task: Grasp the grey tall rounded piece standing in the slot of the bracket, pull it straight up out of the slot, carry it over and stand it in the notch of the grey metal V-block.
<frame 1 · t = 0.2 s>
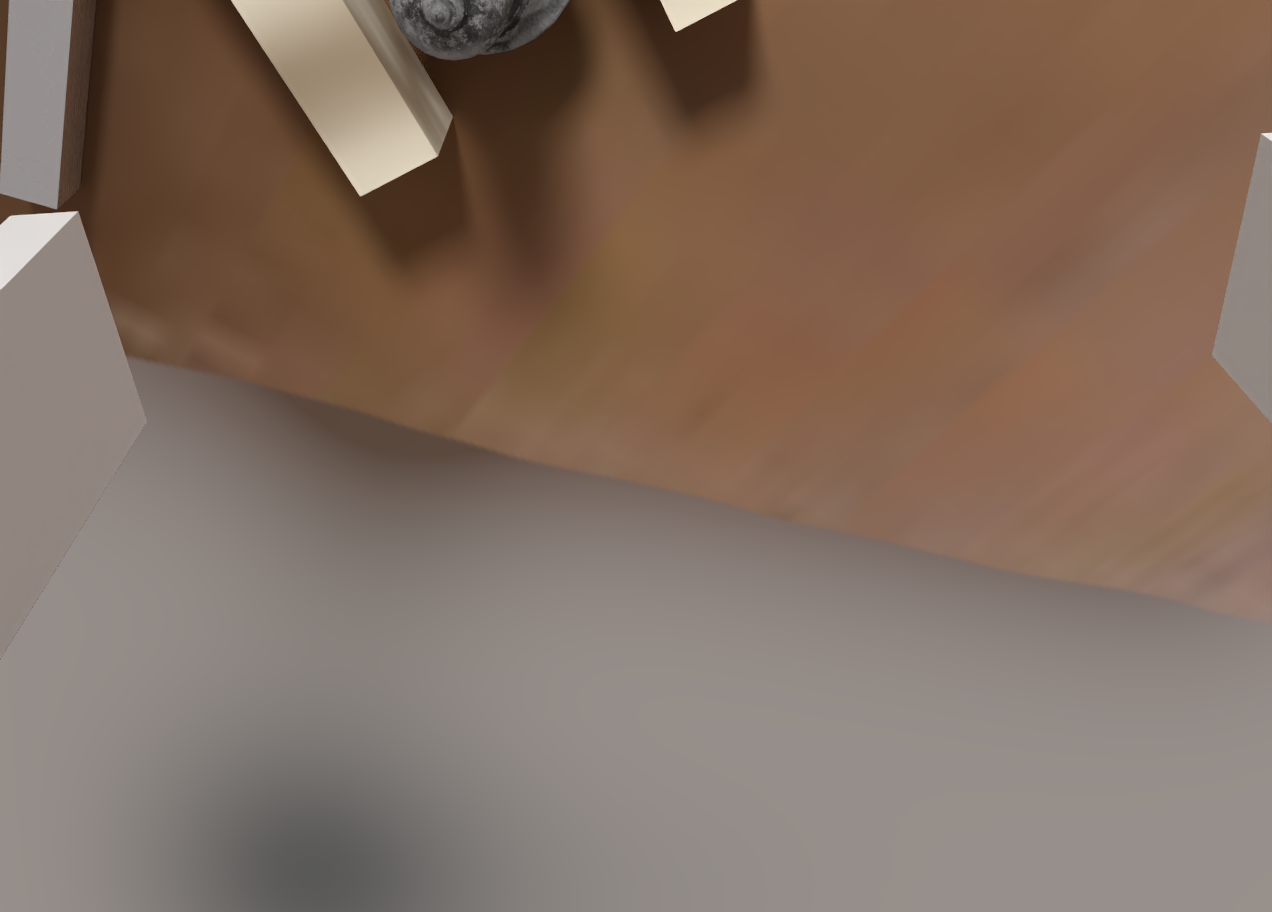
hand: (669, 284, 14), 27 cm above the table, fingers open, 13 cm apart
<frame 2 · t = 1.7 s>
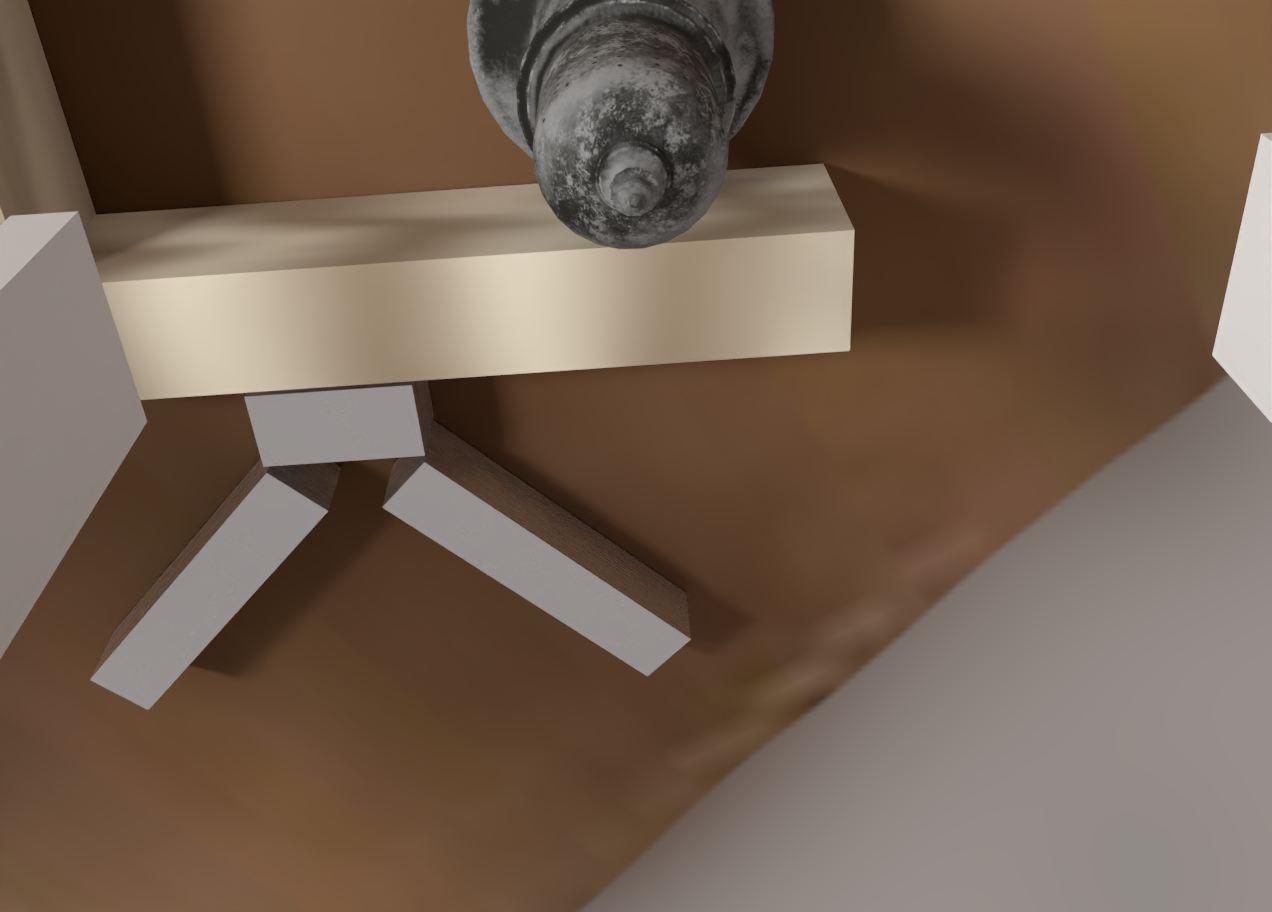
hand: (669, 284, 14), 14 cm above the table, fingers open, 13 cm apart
bracket: (363, 16, 26), on the table
v block: (360, 435, 32), on the table
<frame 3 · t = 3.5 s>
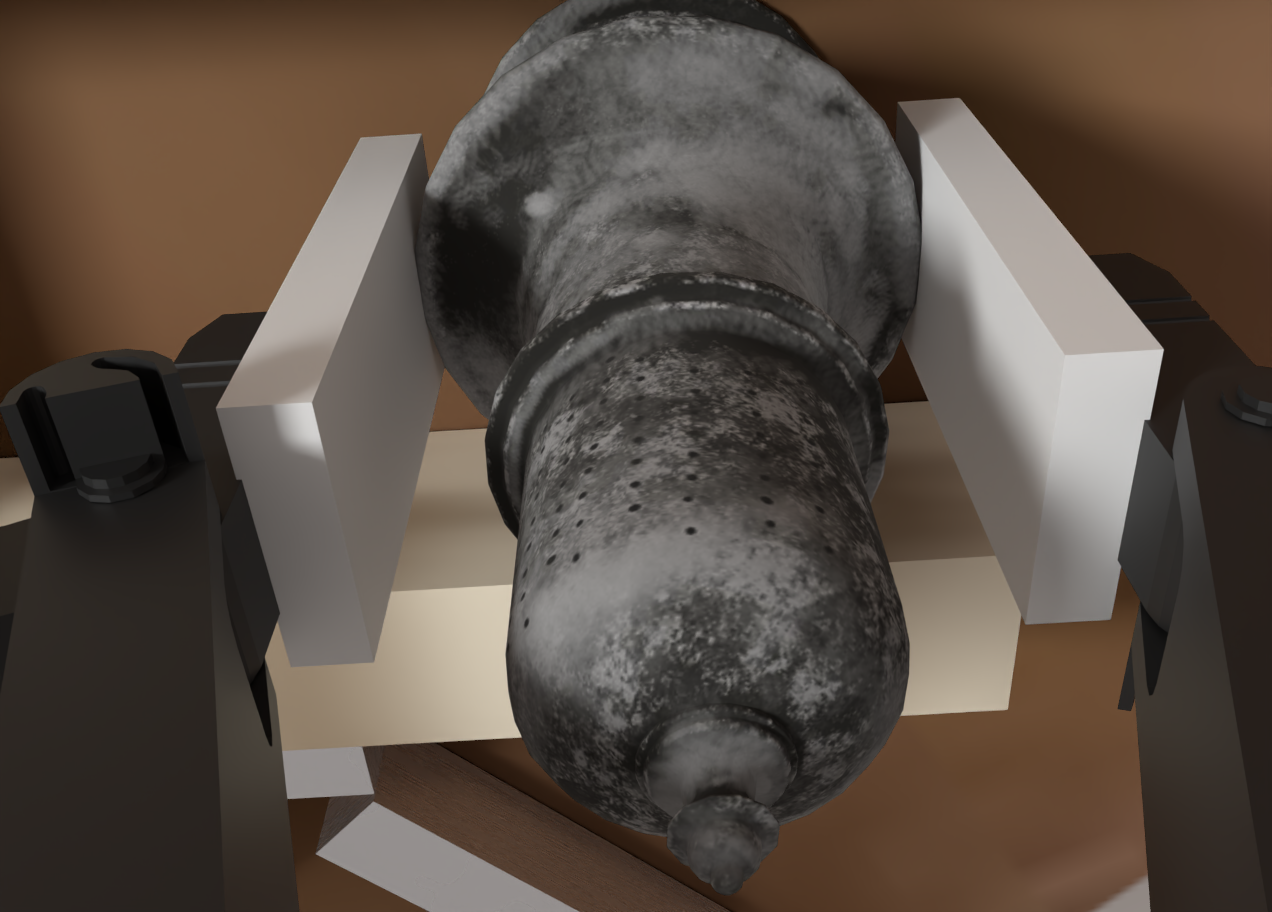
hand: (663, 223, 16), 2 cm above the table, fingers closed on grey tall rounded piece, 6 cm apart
bracket: (271, 199, 17), on the table
grey tall rounded piece: (658, 167, 17), on the table, touching gripper
v block: (291, 736, 23), on the table
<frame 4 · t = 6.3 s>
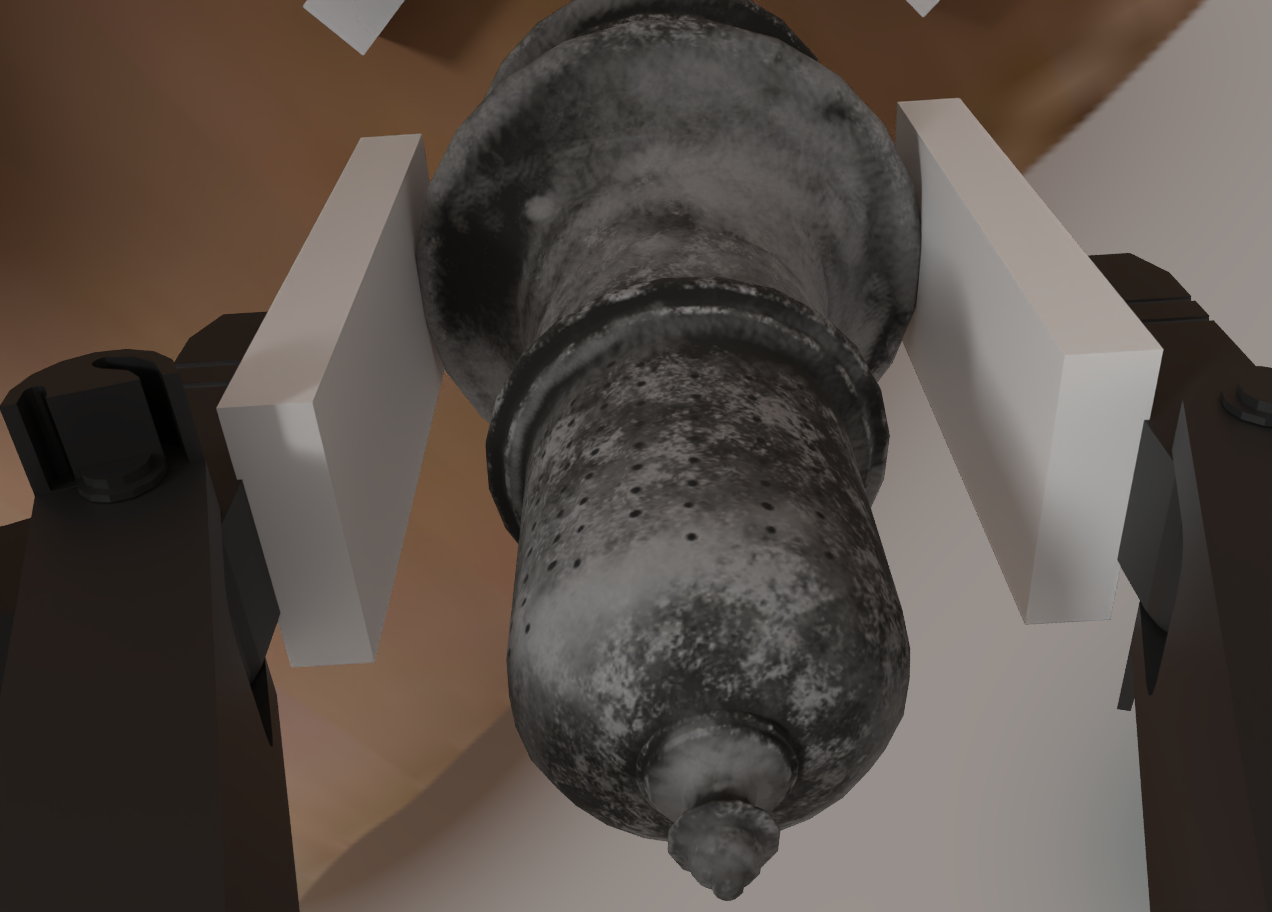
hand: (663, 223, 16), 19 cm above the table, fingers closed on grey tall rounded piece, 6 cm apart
grey tall rounded piece: (659, 170, 17), point 17 cm above the table, touching gripper
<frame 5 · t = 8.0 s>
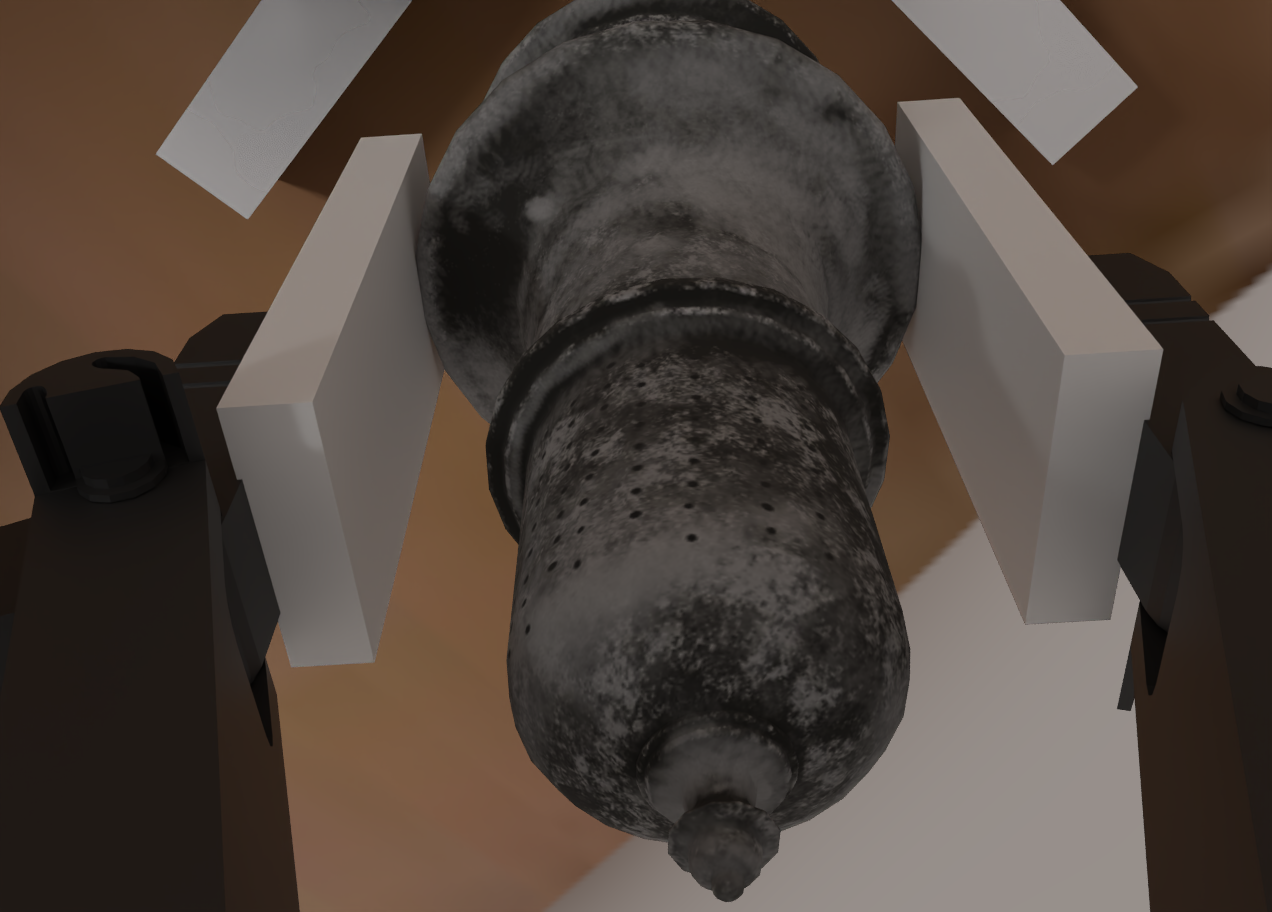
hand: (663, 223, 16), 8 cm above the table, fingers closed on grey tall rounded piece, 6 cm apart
grey tall rounded piece: (659, 170, 17), point 6 cm above the table, touching gripper
when the fingers open (2 cm above the table, at t = 9.5 s): grey tall rounded piece stays where it is, on the table.
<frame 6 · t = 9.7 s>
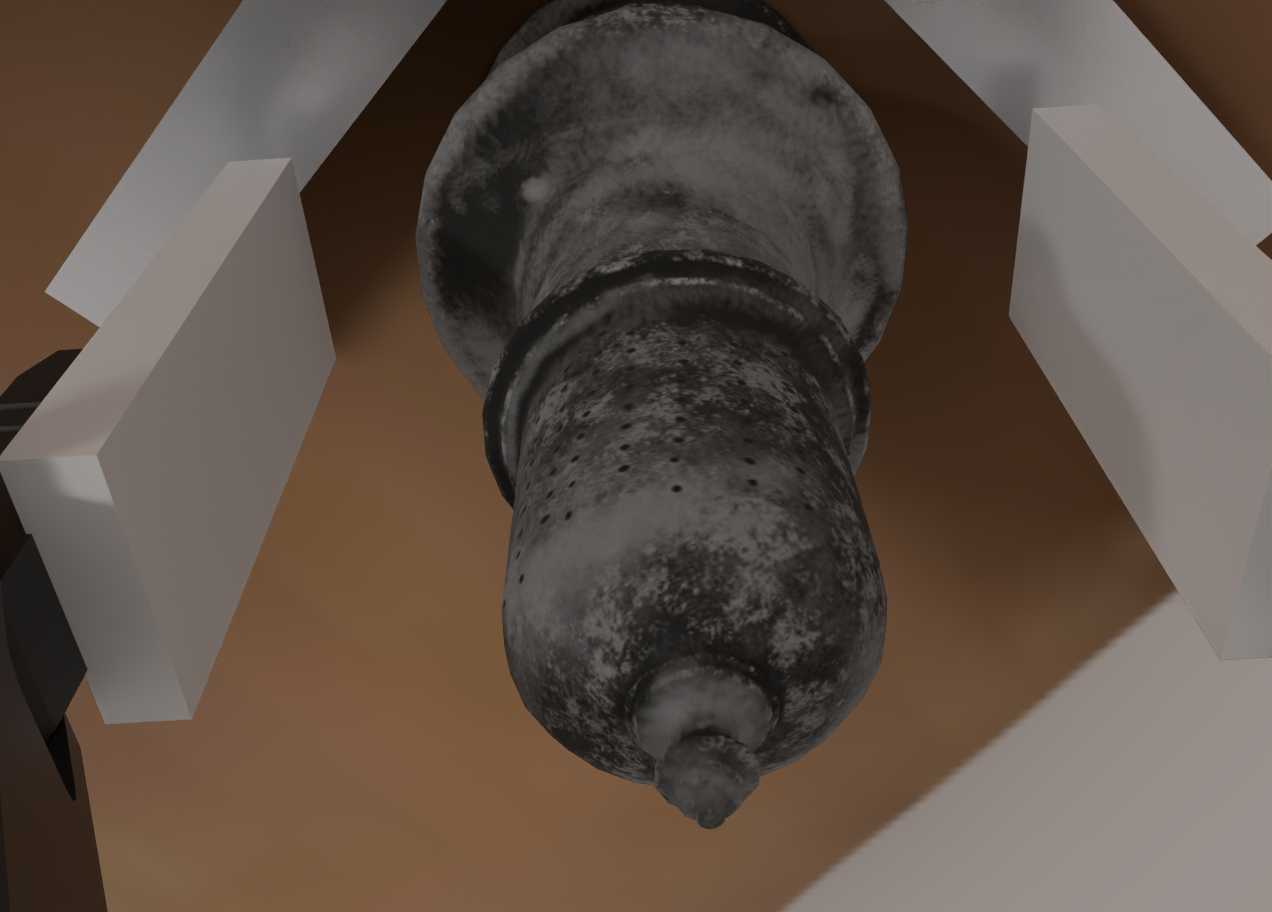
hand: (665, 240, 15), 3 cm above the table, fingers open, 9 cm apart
grey tall rounded piece: (653, 156, 18), on the table
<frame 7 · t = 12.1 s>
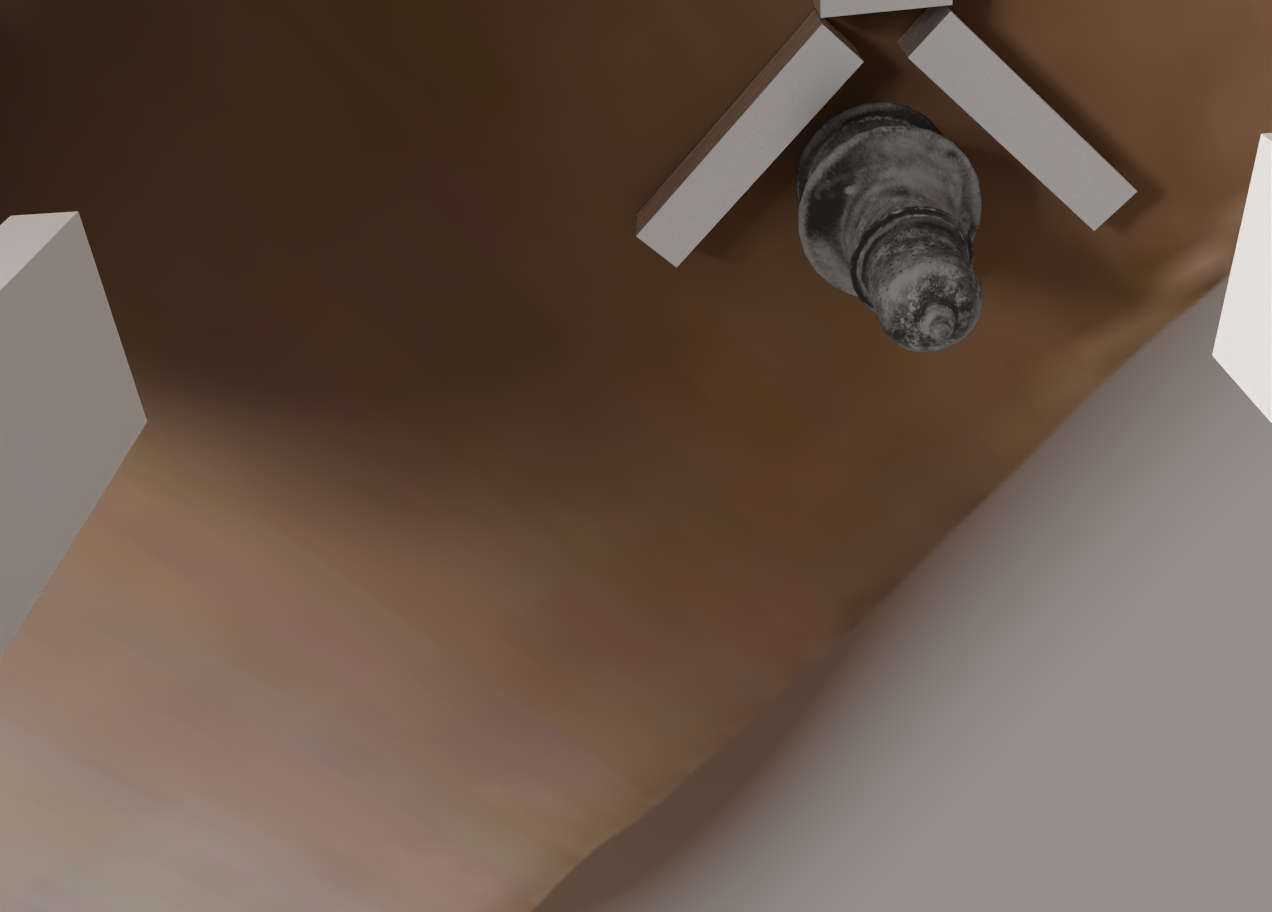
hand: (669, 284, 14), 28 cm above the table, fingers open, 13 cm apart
grey tall rounded piece: (871, 176, 42), on the table
v block: (875, 13, 39), on the table
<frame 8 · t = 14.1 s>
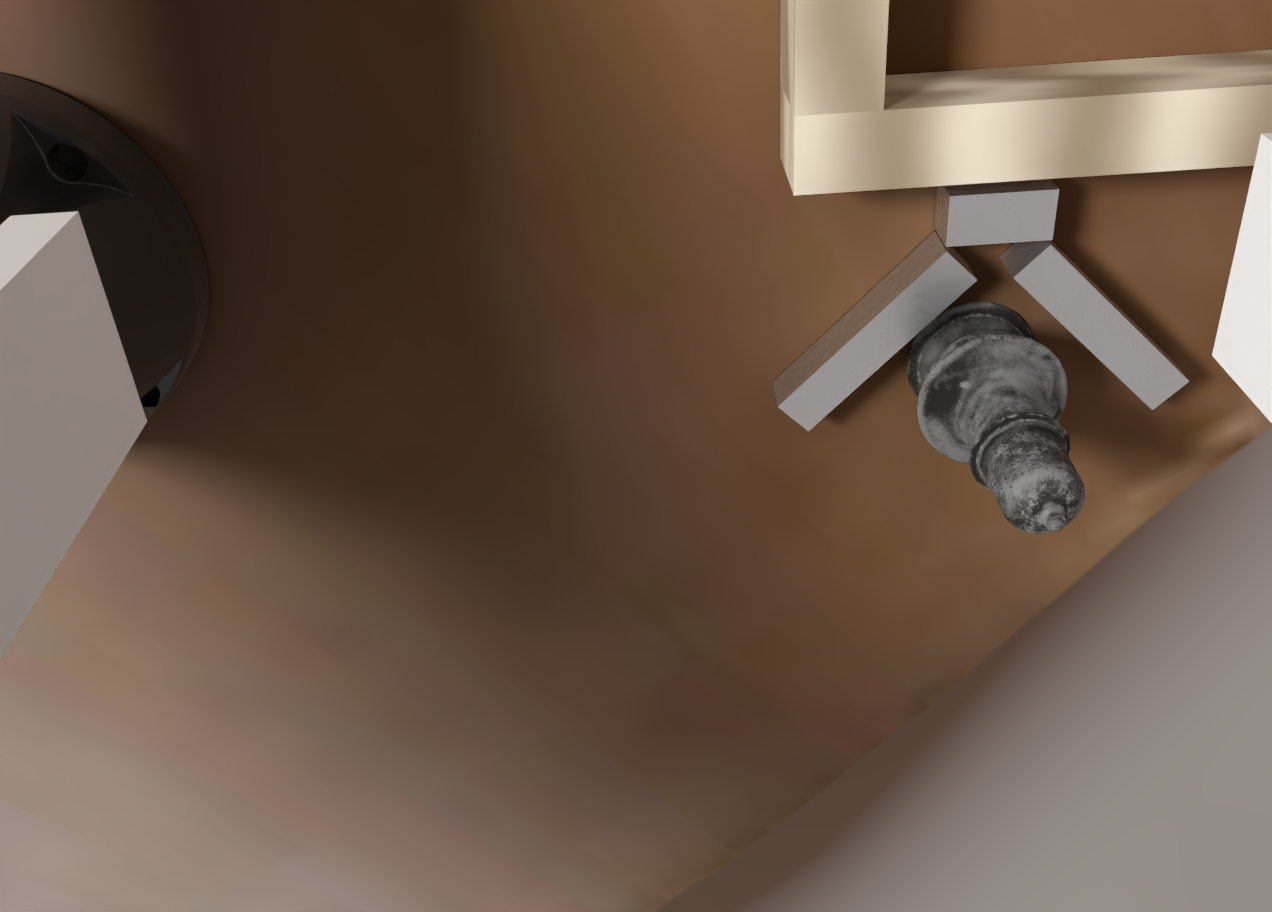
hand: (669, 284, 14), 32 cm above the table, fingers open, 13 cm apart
grey tall rounded piece: (968, 356, 51), on the table
v block: (984, 235, 48), on the table
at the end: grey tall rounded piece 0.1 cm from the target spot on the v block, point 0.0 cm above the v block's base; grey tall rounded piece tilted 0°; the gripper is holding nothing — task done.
